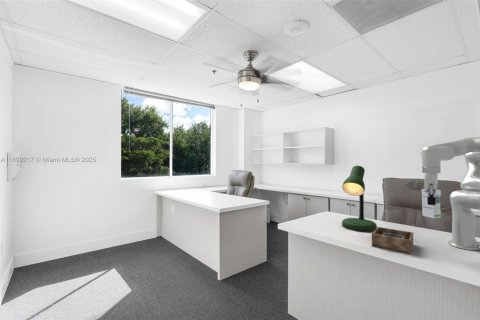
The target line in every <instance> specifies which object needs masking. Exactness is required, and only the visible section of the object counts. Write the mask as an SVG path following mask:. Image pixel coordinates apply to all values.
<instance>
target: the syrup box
mask: <svg viewBox="0 0 480 320" xmlns="http://www.w3.org/2000/svg"><path fill="white" fill-rule="evenodd" d="M433 191H434V190H433ZM433 196H434V195H433ZM427 197H428V191H426V192H425V188H424V189H421V200H422V201H421V203H422V208H421V209H422V210H421V211H422V216H423V217H424V218H425V217H426V218H430V219H437V218H442V216H443V215H442V214H443V213H442V191H441V189H438V188H437V192H435V197H436V205H428V203H427Z"/></svg>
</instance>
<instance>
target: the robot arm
mask: <svg viewBox="0 0 480 320" xmlns="http://www.w3.org/2000/svg"><path fill="white" fill-rule="evenodd" d="M420 156H421V166H422V167H421V168H422V170H421V173H422V174H424V178H423V179H424V181H423V182H424V185H423V186H424V189H425V192H426V191H428V197H427V203H428V205H436V197H435V192H437V189H438V182H439V179H438V176H439V174H442V173H441V170H442V169H441V166H442V165H441V161H442V162H443V161H451V160H453V159H454V158H455V157H461V156H463V158H464V161H465V164H466V166H467V170H466V172H465V174H464V176H463V178H462V180H461V181H460V186H459V187H460V189H459V190H454V191H452V192H451V193H450V194H449V201H450V205H451V218H452V219H451V229H452V230H451V237H452V239H451V240H449V241H448V245H450V246H451V247H454V248H457V249H462V250H468V251H479V250H480V241H477V239H476V215H475V213H474V212H473V210H477V211H478V210H479V211H480V136H473V137H465V138H462V139H459V140H458V139H457V140H454V141H448V142H444V143H438V144H433V145H430V146H425V147H423V148H422V149H421V153H420ZM433 190H434V191H433ZM433 195H434V196H433Z"/></svg>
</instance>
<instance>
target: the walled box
mask: <svg viewBox="0 0 480 320" xmlns="http://www.w3.org/2000/svg"><path fill="white" fill-rule="evenodd" d="M371 247H374V248H379V249H384V250H389V251H394V252H399V253H403V254H404V253H405V254H407V255H408V254H409V255H412V251H413V248H414V232H412V231H406V230H398V229H394V228H388V227H381V226H377V228H376V229H375V230H374V231H373V232H371Z"/></svg>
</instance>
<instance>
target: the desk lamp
mask: <svg viewBox="0 0 480 320" xmlns="http://www.w3.org/2000/svg"><path fill="white" fill-rule="evenodd" d="M365 171H366V170H365V168H364V167H363V166H362V165H354V166H353V167H352V169H351V171H350V174H349V176H348V177H347V178H346V179H345V180H344V181H343V183H342V185H341V189H342V190H343V192H344V193H346V194H347V195H350V196H356V197H357V196H358V197H359V207H358V209H359V211H358V212H359V213H358V215H359V216H358V217H347V218H344V219H342V221H341V227H343V229H346V230H350V231H356V232H361V233H364V232H365V233H373V232H374V230H375V229H376V228H377V227H378V225H377V223H376V222H374V221H373V220H370V219H366V218H365V213H364V212H365V211H364V210H365V208H364V207H365V203H364V202H365V199H364V198H365V195H364V194H365V191H366V186H365V185H366V184H365V181H364V175H365Z"/></svg>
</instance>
